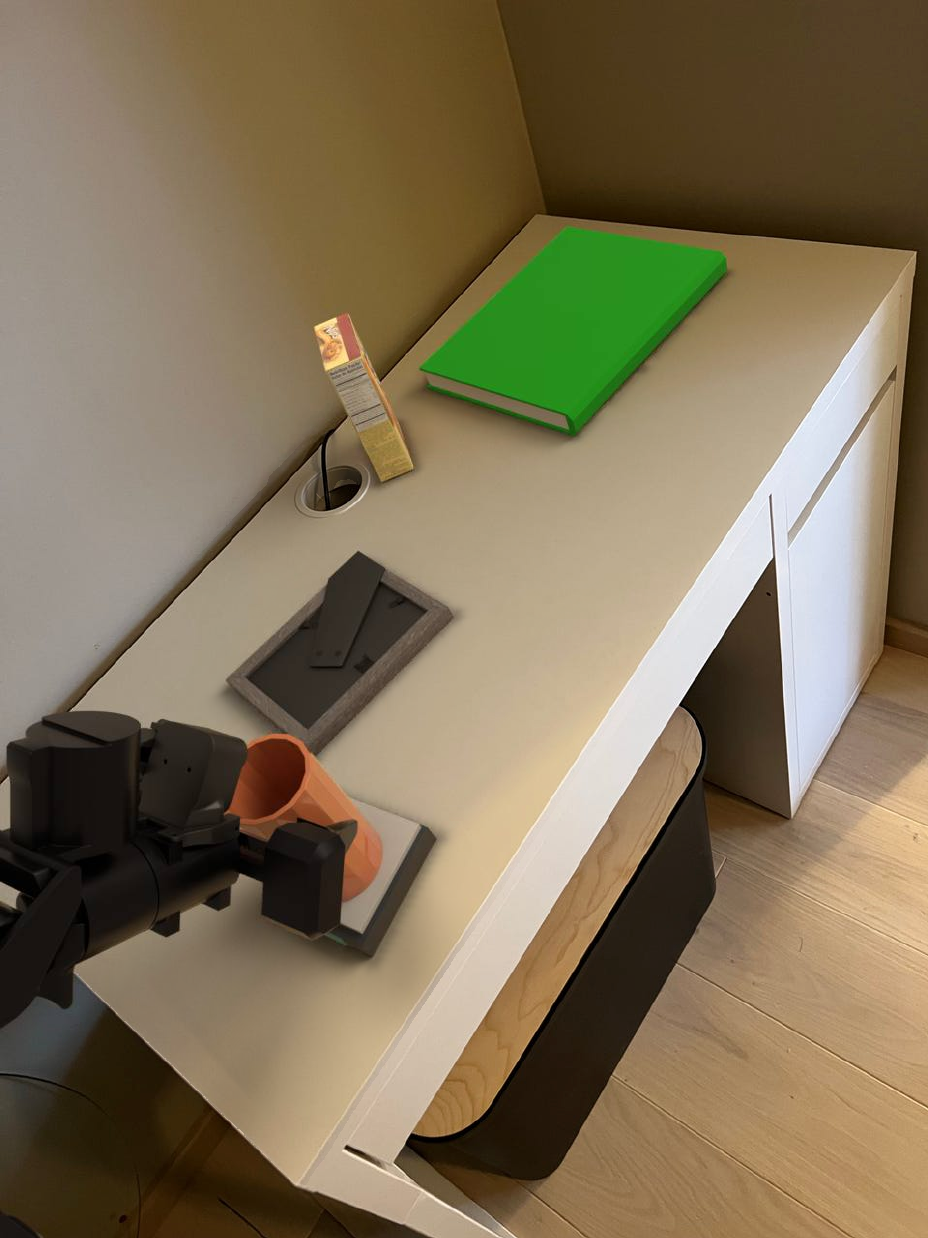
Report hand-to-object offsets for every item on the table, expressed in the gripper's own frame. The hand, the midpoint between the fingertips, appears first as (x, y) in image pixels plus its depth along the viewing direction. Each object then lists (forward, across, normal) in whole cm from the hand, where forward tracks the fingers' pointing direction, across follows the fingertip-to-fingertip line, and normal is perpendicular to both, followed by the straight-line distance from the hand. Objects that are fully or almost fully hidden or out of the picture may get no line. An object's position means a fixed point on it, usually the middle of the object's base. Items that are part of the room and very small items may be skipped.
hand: (304, 808), depth 69 cm
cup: (+5, 0, +6) cm, 7 cm away
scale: (+7, 0, +7) cm, 10 cm away
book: (+53, +8, -39) cm, 67 cm away
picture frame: (+20, +13, -6) cm, 24 cm away
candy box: (+38, +22, -24) cm, 50 cm away
